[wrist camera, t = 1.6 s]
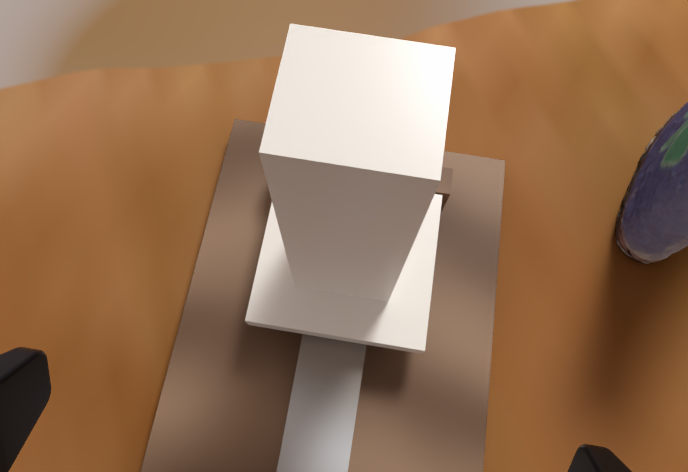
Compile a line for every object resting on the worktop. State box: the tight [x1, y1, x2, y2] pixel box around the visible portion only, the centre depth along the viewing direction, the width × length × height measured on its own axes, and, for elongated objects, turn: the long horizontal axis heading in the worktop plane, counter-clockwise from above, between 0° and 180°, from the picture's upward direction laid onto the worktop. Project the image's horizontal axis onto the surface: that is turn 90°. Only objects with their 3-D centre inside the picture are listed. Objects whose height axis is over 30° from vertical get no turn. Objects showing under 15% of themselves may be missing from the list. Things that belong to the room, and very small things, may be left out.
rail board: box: [141, 119, 505, 472], centre depth 20 cm, size 20×12×3 cm, turn 170°
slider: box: [245, 24, 456, 354], centre depth 16 cm, size 6×6×11 cm
